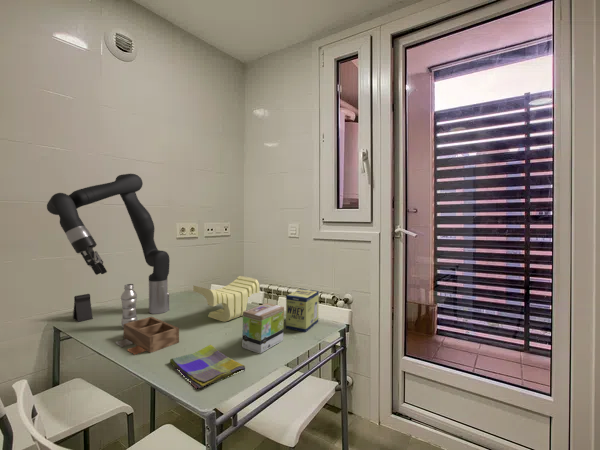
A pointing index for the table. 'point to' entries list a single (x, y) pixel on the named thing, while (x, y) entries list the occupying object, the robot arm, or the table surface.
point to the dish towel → (206, 366)
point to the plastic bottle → (128, 304)
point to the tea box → (262, 327)
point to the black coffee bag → (82, 308)
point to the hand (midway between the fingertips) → (101, 273)
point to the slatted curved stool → (230, 297)
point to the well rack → (149, 335)
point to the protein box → (302, 309)
